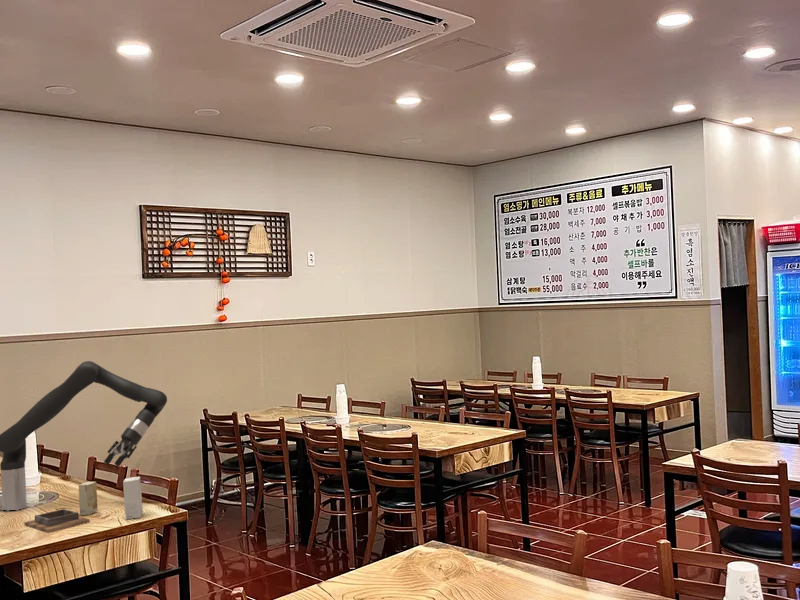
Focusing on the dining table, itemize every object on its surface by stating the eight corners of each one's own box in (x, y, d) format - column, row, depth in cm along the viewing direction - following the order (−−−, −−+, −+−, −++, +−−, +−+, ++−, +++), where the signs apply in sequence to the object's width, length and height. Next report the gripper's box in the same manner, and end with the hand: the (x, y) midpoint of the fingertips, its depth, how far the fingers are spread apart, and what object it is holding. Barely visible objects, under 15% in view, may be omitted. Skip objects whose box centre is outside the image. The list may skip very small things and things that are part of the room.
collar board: (24, 525, 304) (23, 515, 304) (64, 515, 317) (64, 506, 317) (48, 532, 291) (47, 522, 291) (89, 522, 303) (89, 512, 303)
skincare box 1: (89, 515, 314) (87, 484, 314) (79, 515, 315) (77, 484, 315) (98, 511, 321) (96, 481, 321) (88, 511, 322) (87, 481, 322)
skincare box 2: (141, 518, 305) (139, 479, 306) (124, 520, 304) (122, 481, 304) (143, 513, 314) (141, 475, 314) (127, 514, 312) (125, 477, 312)
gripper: (120, 425, 338) (96, 457, 329) (137, 427, 328) (113, 460, 319) (131, 436, 341) (108, 468, 333) (150, 438, 332) (126, 471, 323)
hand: (111, 464), depth 326 cm, fingers open, 8 cm apart
